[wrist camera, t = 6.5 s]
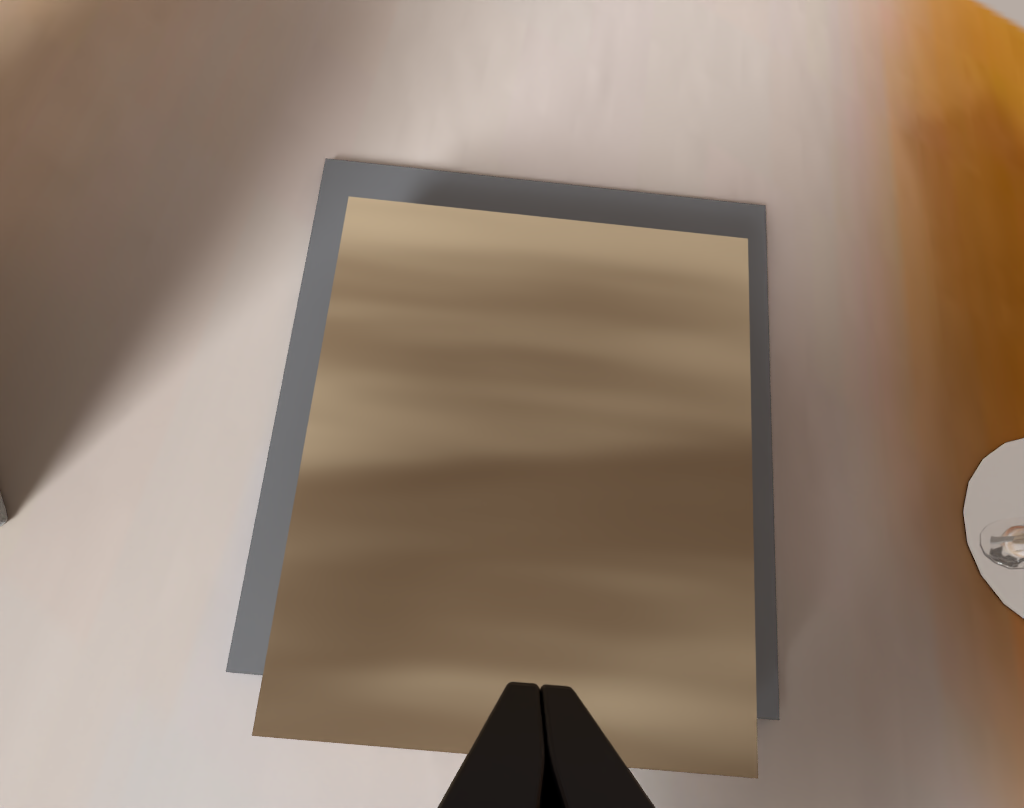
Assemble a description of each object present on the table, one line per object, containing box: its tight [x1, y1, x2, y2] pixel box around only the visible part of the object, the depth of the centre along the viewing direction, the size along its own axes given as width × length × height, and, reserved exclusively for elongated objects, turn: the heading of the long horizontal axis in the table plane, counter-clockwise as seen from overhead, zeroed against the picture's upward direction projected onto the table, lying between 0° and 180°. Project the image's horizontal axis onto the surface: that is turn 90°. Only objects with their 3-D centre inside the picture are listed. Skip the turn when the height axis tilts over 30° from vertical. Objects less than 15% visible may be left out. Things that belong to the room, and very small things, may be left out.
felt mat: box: [226, 159, 779, 720], centre depth 18 cm, size 13×12×1 cm
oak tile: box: [252, 197, 758, 778], centre depth 16 cm, size 3×9×11 cm
